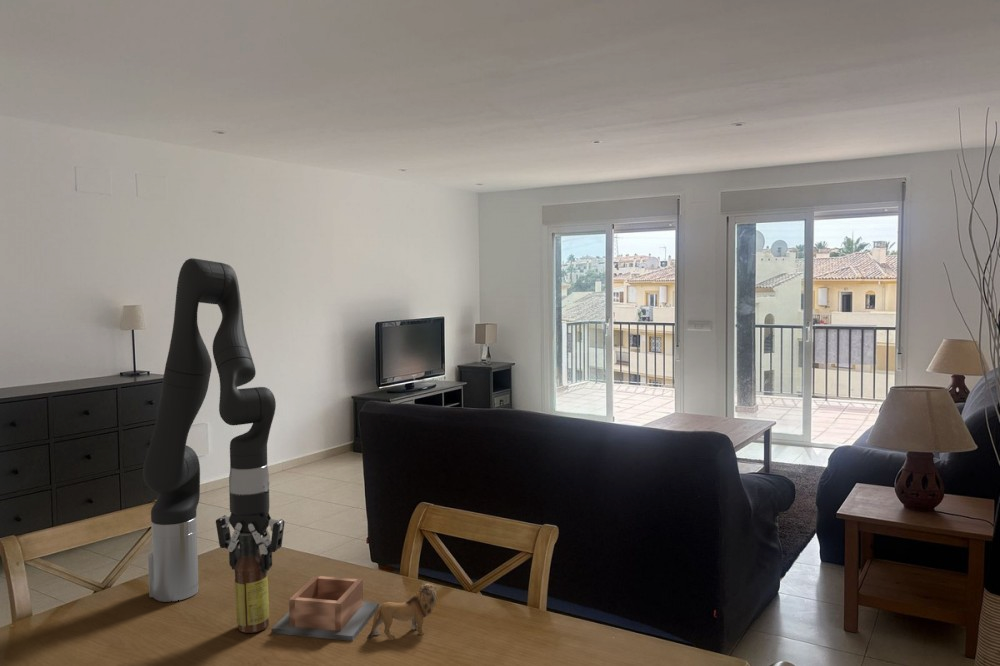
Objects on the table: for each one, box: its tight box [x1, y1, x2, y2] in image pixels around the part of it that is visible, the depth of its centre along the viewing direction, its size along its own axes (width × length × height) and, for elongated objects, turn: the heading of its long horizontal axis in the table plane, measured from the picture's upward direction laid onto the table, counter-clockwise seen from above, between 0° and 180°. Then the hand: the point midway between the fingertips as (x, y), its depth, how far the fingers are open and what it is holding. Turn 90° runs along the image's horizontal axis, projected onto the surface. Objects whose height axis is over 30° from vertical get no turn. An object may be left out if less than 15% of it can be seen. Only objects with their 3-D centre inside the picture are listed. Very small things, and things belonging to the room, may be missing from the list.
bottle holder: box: [271, 575, 380, 642], centre depth 149 cm, size 17×15×6 cm
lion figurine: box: [366, 583, 438, 641], centre depth 143 cm, size 15×5×9 cm, turn 117°
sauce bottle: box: [234, 533, 270, 634], centre depth 145 cm, size 6×6×20 cm
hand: (251, 569), depth 145 cm, fingers closed on sauce bottle, 6 cm apart
